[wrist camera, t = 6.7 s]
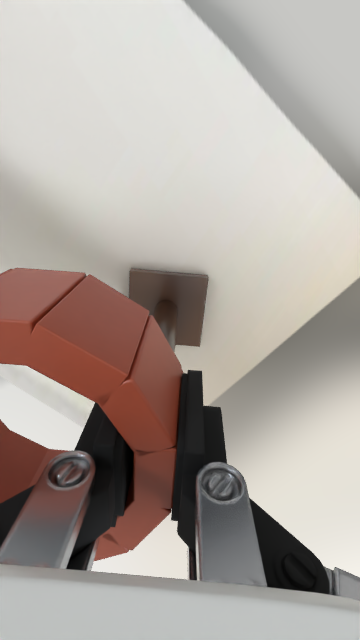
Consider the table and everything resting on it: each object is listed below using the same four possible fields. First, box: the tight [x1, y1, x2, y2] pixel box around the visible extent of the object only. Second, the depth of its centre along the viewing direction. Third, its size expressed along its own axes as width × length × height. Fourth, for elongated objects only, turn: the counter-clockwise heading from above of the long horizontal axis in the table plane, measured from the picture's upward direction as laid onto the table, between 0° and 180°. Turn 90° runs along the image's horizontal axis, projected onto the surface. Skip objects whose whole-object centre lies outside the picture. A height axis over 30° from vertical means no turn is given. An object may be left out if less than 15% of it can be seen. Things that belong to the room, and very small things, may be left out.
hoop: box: [0, 268, 183, 561], centre depth 11 cm, size 9×9×4 cm
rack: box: [129, 269, 208, 352], centre depth 29 cm, size 8×8×14 cm
